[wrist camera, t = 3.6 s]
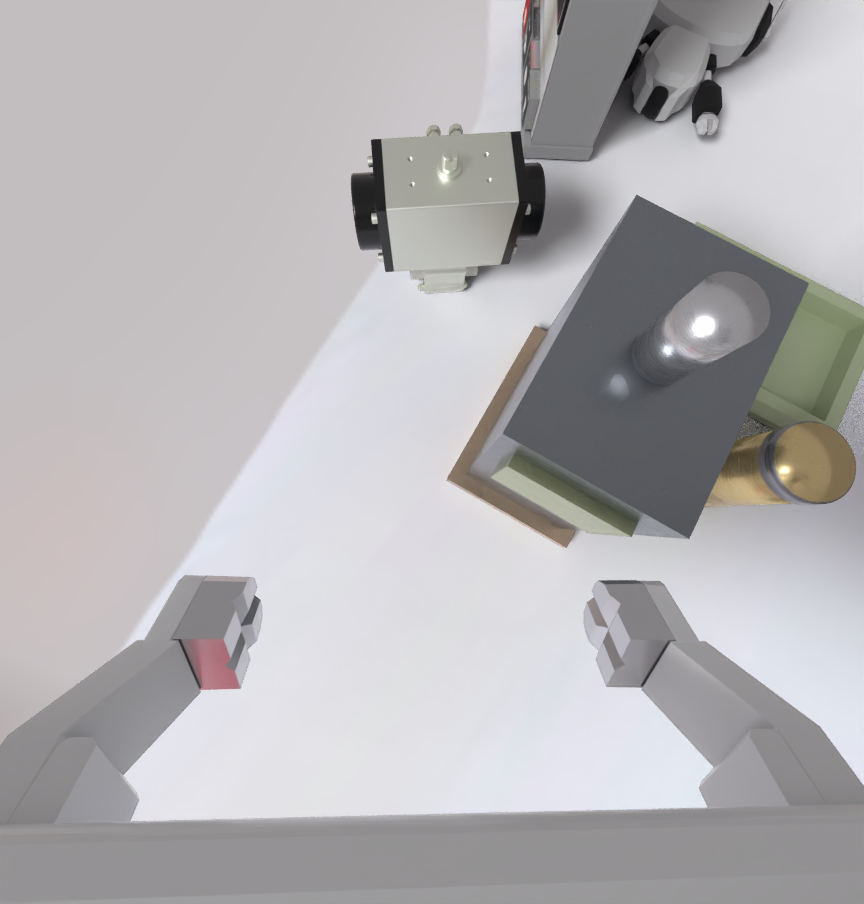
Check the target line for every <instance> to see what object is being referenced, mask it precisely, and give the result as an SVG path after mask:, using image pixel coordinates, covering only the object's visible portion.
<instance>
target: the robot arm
mask: <svg viewBox="0 0 864 904" xmlns="http://www.w3.org/2000/svg"><path fill="white" fill-rule="evenodd" d="M256 590H257V584H256V581H255V578H252V577H228V576H194V575H185V576H184V577H183V578H182V579H180V580H179V581H178V583H177V585H176V586H175V588H174V590H173V591H172V593H171V595H170V597H169V598H168V600H167V602H166V603H165V605H164V607H163V609H162V610H161V612H160V614H159V616H158V617H157V619H156V621H155V622H154V624H153V626H152V628H151V629H150V631H149V633H148V634H147V636H146V638H145V640H137V641H135V642H134V643H133V644H131V645H130V646H129V647H127V648H126V649H125V650H123V651H122V652H120V653H119V654H118V655H116V656H115V657H114V658H112V659H111V660H110V661H108V662H107V663H105V664H104V665H103V666H101V667H100V668H99V669H97V670H96V671H95V672H93V673H92V674H91V675H89V676H88V677H86V678H85V679H84V680H82V681H81V682H80V683H78V684H77V685H76V686H74V687H73V688H72V689H70V690H69V691H68V692H66V693H65V694H63V695H62V696H61V697H59V698H58V699H56V700H55V701H54V702H52V703H51V704H50V705H48V706H47V707H46V708H44V709H43V710H42V711H40V712H39V713H37V714H36V715H35V716H33V717H32V718H31V719H29V720H28V721H27V722H25V723H24V724H22V725H21V726H20V727H18V728H17V729H16V730H14V731H13V732H12V733H10V734H9V735H8V736H7V737H6V739H5V740H4V741H3V742H2V744H1V745H0V904H864V786H863V784H862V783H861V782H860V780H859V779H858V778H857V776H856V775H855V773H854V772H853V771H852V769H851V768H850V767H849V765H848V764H847V763H846V761H845V760H844V759H843V757H842V756H841V754H840V753H839V752H838V750H837V749H836V748H835V746H834V745H833V744H832V742H831V741H830V739H829V738H828V737H827V735H826V734H825V733H824V731H823V730H822V729H821V727H820V726H818V725H817V724H816V723H814V722H813V721H812V720H810V719H809V718H808V717H806V716H805V715H804V714H802V713H801V712H800V711H798V710H797V709H796V708H794V707H793V706H792V705H790V704H789V703H787V702H786V701H785V700H783V699H782V698H781V697H779V696H778V695H777V694H775V693H774V692H773V691H771V690H770V689H769V688H767V687H766V686H765V685H763V684H762V683H761V682H759V681H758V680H757V679H755V678H754V677H753V676H751V675H750V674H749V673H747V672H746V671H745V670H743V669H742V668H741V667H739V666H738V665H737V664H735V663H734V662H732V661H731V660H730V659H728V658H727V657H726V656H724V655H723V654H722V653H720V652H719V651H718V650H716V649H715V648H714V647H712V646H711V645H710V644H708V643H707V642H704V641H699V640H698V638H697V637H696V635H695V633H694V632H693V630H692V628H691V627H690V625H689V624H688V622H687V620H686V619H685V617H684V616H683V614H682V612H681V611H680V609H679V608H678V606H677V604H676V603H675V601H674V600H673V598H672V596H671V595H670V593H669V591H668V590H667V588H666V587H665V585H664V584H663V583H661V582H660V581H636V580H608V581H597V582H596V583H595V584H594V586H593V589H592V593H593V595H594V598H593V599H591V600H590V601H588V602H587V604H586V607H585V610H584V627H585V631H586V634H587V637H588V640H589V642H590V643H591V644H592V645H593V646H594V647H595V648H597V649H598V650H599V651H598V654H597V657H596V661H597V664H598V666H599V669H600V672H601V674H602V677H603V679H604V682H605V685H606V687H640V688H642V689H641V690H642V691H643V692H644V693H645V694H646V695H647V696H648V697H649V698H650V699H651V700H652V701H653V702H654V703H655V705H656V706H657V707H658V708H659V709H660V710H661V711H662V712H663V713H664V714H665V715H666V716H667V717H668V719H669V720H670V721H671V722H672V723H673V724H674V725H675V726H676V727H677V728H678V729H679V730H680V731H681V733H682V734H683V735H684V736H685V737H686V738H687V739H688V740H689V741H690V742H691V743H692V744H693V745H694V746H695V748H696V749H697V750H698V751H699V752H700V753H701V754H702V755H703V756H704V757H705V758H706V759H707V760H708V762H709V763H710V764H711V765H712V766H713V767H714V768H713V769H712V770H711V772H710V773H709V774H708V775H707V776H706V777H705V778H704V779H703V780H702V781H701V784H700V786H699V789H700V791H701V794H702V796H703V798H704V800H705V802H706V805H707V807H708V808H670V809H628V810H586V811H544V812H502V813H461V814H419V815H377V816H335V817H294V818H253V819H212V820H171V821H130V820H131V818H132V816H133V813H134V811H135V809H136V806H137V804H138V802H139V798H138V795H137V792H136V791H135V790H134V789H133V787H132V786H131V785H130V784H129V782H128V781H127V780H126V778H125V777H124V776H123V775H124V774H125V773H126V772H127V771H128V769H129V768H130V767H131V766H132V765H133V764H134V763H135V762H136V761H137V760H138V759H139V758H140V757H141V756H142V754H143V753H144V752H145V751H146V750H147V749H148V748H149V747H150V746H151V745H152V744H153V743H154V742H155V741H156V740H157V738H158V737H159V736H160V735H161V734H162V733H163V732H164V731H165V730H166V729H167V728H168V727H169V726H170V725H171V723H172V722H173V721H174V720H175V719H176V718H177V717H178V716H179V715H180V714H181V713H182V712H183V711H184V710H185V709H186V707H187V706H188V705H189V704H190V703H191V702H192V701H193V700H194V699H195V698H196V697H197V696H198V695H199V694H200V692H201V691H200V690H211V689H240V688H241V686H242V683H243V680H244V677H245V674H246V671H247V668H248V665H249V662H250V656H249V653H248V648H249V647H251V646H252V645H253V644H254V643H255V642H256V641H257V638H258V635H259V632H260V628H261V621H262V605H261V600H260V599H259V598H257V597H256V596H255V593H256Z"/></svg>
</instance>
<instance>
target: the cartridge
mask: <svg viewBox="0 0 864 904" xmlns="http://www.w3.org/2000/svg"><path fill="white" fill-rule="evenodd" d="M855 474H856V463H855V458H854V454H853V452H852V449H851V447H850V446H849V444H848V443H847V441H846V440H845V439H844V437H843V436H842V435H841V434H840V433H838V432H837V431H836V430H835V429H833V428H831V427H830V426H827V425H825V424H823V423H819V422H815V421H802V422H797V423H793V424H789V425H786V426H782V427H779V428H777V429H775V430H773V431H769V432H765V433H761V434H757V435H754V436H750V437H746V438H742V439H738V440H735V442H734V445H733V447H732V449H731V451H730V453H729V455H728V457H727V459H726V462H725V464H724V466H723V468H722V470H721V472H720V474H719V476H718V478H717V481H716V483H715V485H714V487H713V489H712V491H711V493H710V495H709V498H708V500H707V502H706V504H705V506H704V507H721V506H744V505H768V504H791V503H794V504H800V505H810V504H827V503H831V502H834V501H836V500H838V499H840V498H841V497H843V496H844V495H845V494H846V493H847V492H848V491H849V489H850V488H851V486H852V484H853V482H854V479H855Z"/></svg>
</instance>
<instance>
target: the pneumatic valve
mask: <svg viewBox="0 0 864 904" xmlns="http://www.w3.org/2000/svg"><path fill="white" fill-rule="evenodd" d="M462 134H463V130H462V128H461V126H460V125H459V124H453V125H452V126H451V127H450V129H449V135H446V136H440V135H441V133H440V129H439V127H438V126H436V125H432V126H430V127H429V128H428V130H427V137H410V138H391V139H373V140H371V145H372V156H368V166H369V167H373V172H368V173H353V174H352V176H351V193H352V204H353V213H354V221H355V227H356V233H357V238H358V243H359V247H360V249H361V250H376V249H377V250H378V249H382V252H383V253H379V254H378V257H379V262H384V265H385V271H386V272H393V271H408V270H410V274H411V280H414V279H424V282H423V283H421V284H420V285H418V289H420V291H424V292H425V293H440V292H455V291H463V289H464V288H467V281H464V279H465V276H475V275H477V271H478V266H486V265H502V264H509V262H510V259H511V256H512V254H513V253H516V252H517V245H516V241H521V240H534V239H535V238H536V237H537V236H538V234H539V232H540V229H541V226H542V222H543V216H544V209H545V192H546V190H545V176H544V171H543V168H542V166H541V164H540V163H524V155H523V153H524V151H523V147H522V139H521V131H517V132H499V133H481V134H463V135H462ZM381 141H382V142H381Z"/></svg>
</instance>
